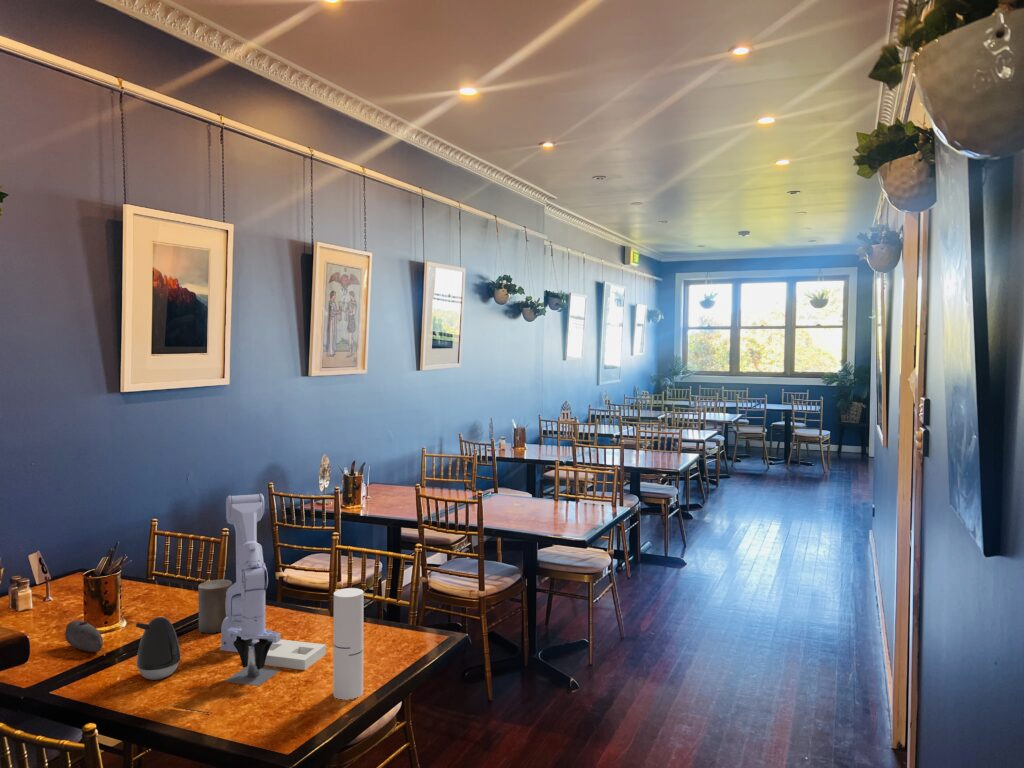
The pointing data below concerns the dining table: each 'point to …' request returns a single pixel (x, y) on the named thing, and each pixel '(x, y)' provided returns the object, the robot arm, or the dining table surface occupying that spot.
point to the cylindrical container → (348, 643)
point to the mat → (257, 681)
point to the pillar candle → (212, 605)
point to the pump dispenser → (158, 649)
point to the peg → (252, 661)
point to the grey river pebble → (83, 636)
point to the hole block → (294, 654)
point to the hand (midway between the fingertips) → (253, 666)
